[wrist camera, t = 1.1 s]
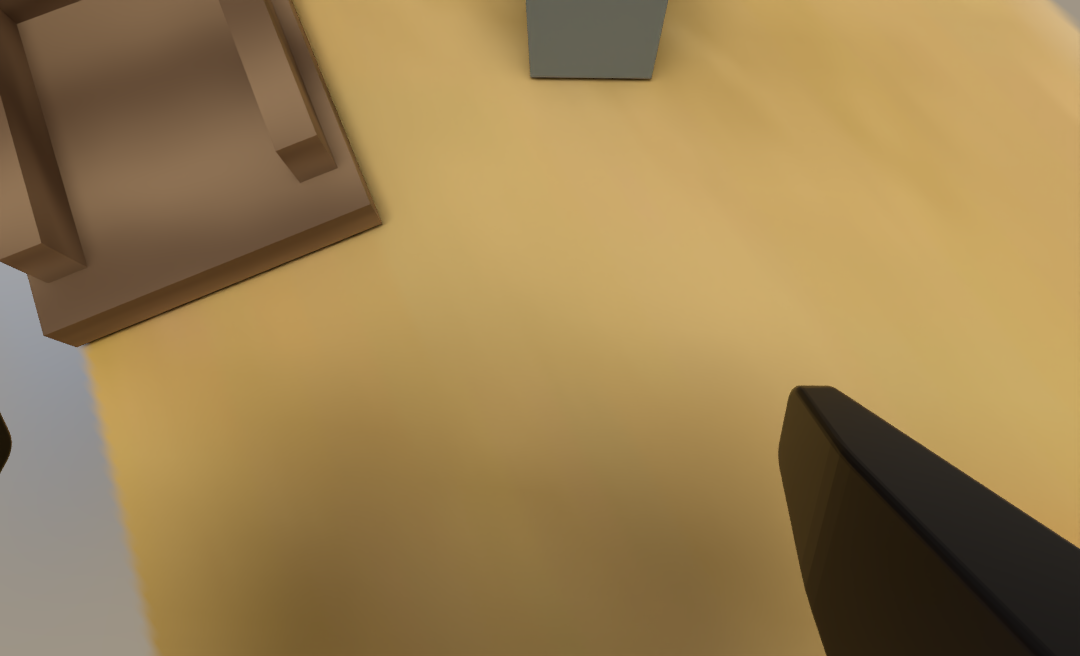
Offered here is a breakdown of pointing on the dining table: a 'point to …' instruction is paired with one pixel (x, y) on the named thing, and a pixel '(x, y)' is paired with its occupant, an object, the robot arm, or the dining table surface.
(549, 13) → the grey rectangular block
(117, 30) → the stand
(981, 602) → the robot arm
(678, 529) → the dining table surface
